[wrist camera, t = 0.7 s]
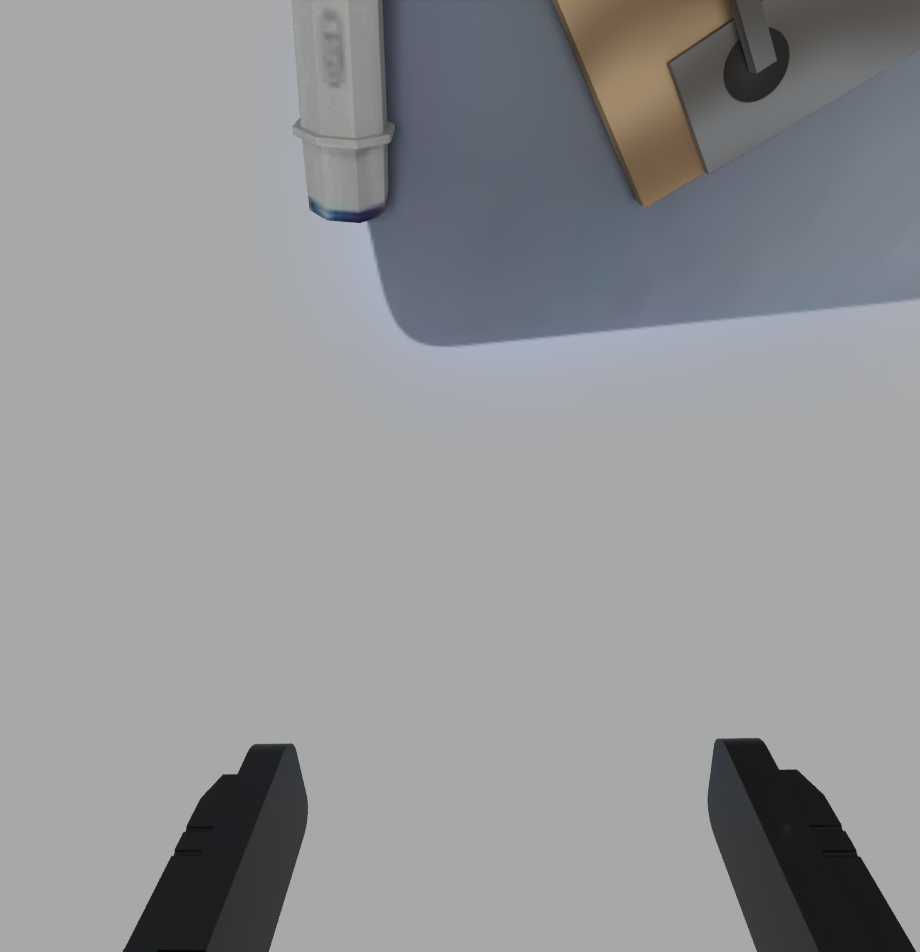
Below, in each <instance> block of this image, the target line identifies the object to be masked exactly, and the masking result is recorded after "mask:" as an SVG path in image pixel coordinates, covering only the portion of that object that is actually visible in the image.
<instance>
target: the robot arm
mask: <svg viewBox="0 0 920 952" xmlns="http://www.w3.org/2000/svg"><path fill="white" fill-rule="evenodd" d="M708 811H709V817H710V822H711V826H712V830H713V833H714V836H715V839H716V842H717V844H718V847H719V850H720V853H721V855H722V858H723V860H724V863H725V866H726V869H727V871H728V874H729V877H730V879H731V882H732V885H733V888H734V890H735V893H736V896H737V899H738V901H739V904H740V907H741V909H742V912H743V915H744V917H745V920H746V923H747V925H748V928H749V931H750V934H751V936H752V939H753V942H754V945H755V947H756V950H757V952H916V951H915V949H914V948H913V946H912V944H911V942H910V940H909V939H908V937H907V936H906V934H905V932H904V930H903V929H902V927H901V925H900V923H899V922H898V920H897V919H896V917H895V915H894V913H893V912H892V910H891V908H890V907H889V905H888V903H887V901H886V900H885V898H884V896H883V895H882V893H881V891H880V890H879V888H878V886H877V885H876V883H875V881H874V879H873V878H872V876H871V875H870V872H869V871H868V869H867V867H866V866H865V864H864V862H863V861H862V859H861V857H858V855H857V852H856V849H855V847H854V846H853V844H852V842H851V840H850V838H849V837H848V835H847V833H846V832H845V831H843V830H842V825H841V823H840V822H839V820H838V818H837V817H836V815H835V813H834V811H833V810H832V808H831V806H830V804H829V803H828V801H827V799H826V798H825V796H824V795H823V794H822V793H821V792H820V791H819V790H818V789H817V788H816V787H815V786H814V785H813V784H812V783H811V782H809V781H808V780H807V779H806V778H805V777H804V776H803V775H802V774H801V773H800V772H799V771H798V770H779V769H778V767H777V765H776V763H775V761H774V759H773V758H772V756H771V754H770V752H769V750H768V748H767V747H766V745H765V743H764V742H763V741H762V740H761V739H759V738H738V739H737V738H736V739H717V740H716V741H715V744H714V750H713V758H712V767H711V774H710V781H709V789H708ZM307 815H308V802H307V795H306V791H305V787H304V782H303V778H302V774H301V770H300V765H299V761H298V756H297V752H296V749H295V746H294V745H293V744H255V745H253V746H252V747H251V748H250V749H249V751H248V753H247V755H246V757H245V759H244V761H243V763H242V766H241V768H240V770H239V772H238V774H229V775H222V776H221V778H219V779H218V781H217V782H216V783H215V784H214V785H213V786H212V787H211V788H210V789H209V790H208V791H207V792H206V793H205V795H203V797H202V798H201V799H200V801H199V803H198V805H197V807H196V809H195V811H194V813H193V814H192V816H191V819H190V820H189V822H188V824H187V826H186V827H187V828H186V832H184V833H183V834H182V837H181V838H180V840H179V842H178V844H177V846H176V848H175V853H174V856H171V858H170V860H169V862H168V864H167V866H166V868H165V870H164V872H163V874H162V876H161V878H160V880H159V882H158V884H157V886H156V888H155V890H154V892H153V894H152V896H151V898H150V900H149V902H148V904H147V906H146V908H145V910H144V912H143V914H142V916H141V918H140V919H139V921H138V924H137V925H136V927H135V929H134V931H133V933H132V935H131V937H130V939H129V941H128V943H127V945H126V947H125V949H124V950H123V952H269V949H270V945H271V942H272V939H273V936H274V932H275V929H276V926H277V923H278V919H279V916H280V912H281V909H282V906H283V903H284V900H285V896H286V893H287V890H288V886H289V883H290V880H291V877H292V873H293V870H294V867H295V863H296V860H297V857H298V854H299V850H300V847H301V844H302V840H303V837H304V833H305V829H306V824H307Z"/></svg>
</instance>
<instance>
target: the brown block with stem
mask: <svg viewBox="0 0 920 952" xmlns="http://www.w3.org/2000/svg"><path fill="white" fill-rule="evenodd" d="M729 2H730V6H731V9H732V13H733V16H734V20H735V23H736V27H737V30H738V34H739V37H740V41H741V44H742V47H743V51H744V54H745V58H746V61H747V65H748V68H749V72H750V73H758V72H760V71H761V70H763V69H765V68H766V67H768V66H769V65H771V64H772V63H774V62H776V61H777V58H776V55H775V51H774V47H773V43H772V40H771V36H770V32H769V28H768V24H767V21H766V17H765V13H764V9H763V5H762V2H761V0H729Z"/></svg>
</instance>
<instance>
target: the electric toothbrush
mask: <svg viewBox="0 0 920 952" xmlns="http://www.w3.org/2000/svg"><path fill="white" fill-rule="evenodd" d="M292 8H293V23H294V37H295V50H296V64H297V79H298V93H299V105H300V106H299V107H300V118H299V120H298V121H297V122H296V123H295V125H294V126H293V134H294V135H295V136H297V137H299V138H302V142H303V150H304V161H305V170H306V179H307V188H308V198H309V208H310V210H311V211H312V212H314V213H316V214H318V215H319V216H321V217H323V218H324V219H326V220H330V221H342V222H355V223H361V222H365V221H368V220H372V219H376V218H380V217H383V216H385V214H386V211H387V208H388V205H389V202H388V143H390V142H391V140H392V137H393V135H394V132H395V124H394V123H392V122H389V121H387V104H386V79H385V54H384V28H383V3H382V0H292Z"/></svg>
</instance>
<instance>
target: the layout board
mask: <svg viewBox="0 0 920 952" xmlns="http://www.w3.org/2000/svg"><path fill="white" fill-rule="evenodd" d="M551 1H552V3H553V5H554V8H555V10H556V12H557V15H558V17H559V19H560V22H561V24H562V26H563V29H564V31H565V34H566V36H567V38H568V41H569V43H570V45H571V48H572V50H573V52H574V55H575V57H576V60H577V62H578V64H579V67H580V69H581V71H582V74H583V76H584V78H585V81H586V83H587V85H588V88H589V90H590V93H591V95H592V97H593V100H594V102H595V104H596V107H597V109H598V111H599V114H600V116H601V118H602V121H603V123H604V126H605V128H606V130H607V133H608V135H609V137H610V140H611V142H612V144H613V147H614V149H615V152H616V154H617V156H618V159H619V161H620V163H621V166H622V168H623V170H624V173H625V175H626V177H627V180H628V182H629V185H630V187H631V189H632V192H633V194H634V196H635V199H636V200H637V201H638V202H639V203H640V204H641V205H642V206H643V207H644V208H646V207H648V206H649V205H651V204H653V203H654V202H656V201H658V200H660V199H661V198H663V197H665V196H666V195H668V194H670V193H671V192H673V191H675V190H676V189H678V188H680V187H681V186H683V185H685V184H686V183H688V182H690V181H691V180H693V179H695V178H696V177H698V176H700V175H701V174H703V173H705V172H706V173H707V174H711V173H713V172H714V171H716V170H718V169H719V168H721V167H723V166H724V165H726V164H728V163H729V162H731V161H733V160H734V159H736V158H738V157H739V156H741V155H743V154H744V153H746V152H748V151H749V150H751V149H753V148H754V147H756V146H758V145H760V144H761V143H763V142H765V141H766V140H768V139H770V138H771V137H773V136H775V135H776V134H778V133H780V132H781V131H783V130H785V129H786V128H788V127H790V126H791V125H793V124H795V123H796V122H798V121H800V120H802V119H803V118H805V117H807V116H808V115H810V114H812V113H813V112H815V111H817V110H818V109H820V108H822V107H823V106H825V105H827V104H828V103H830V102H832V101H833V100H835V99H837V98H838V97H840V96H842V95H843V94H845V93H847V92H849V91H850V90H852V89H854V88H855V87H857V86H859V85H860V84H862V83H864V82H865V81H867V80H869V79H870V78H872V77H874V76H875V75H877V74H879V73H880V72H882V71H884V70H885V69H887V68H889V67H890V66H892V65H894V64H896V63H897V62H899V61H901V60H902V59H904V58H906V57H907V56H909V55H911V54H912V53H914V52H916V51H917V50H919V49H920V0H761V2H762V5H763V9H764V13H765V17H766V21H767V24H768V28H769V32H770V36H771V40H772V43H773V47H774V51H775V55H776V58H777V61H776V62H774V63H772V64H771V65H769V66H768V67H766V68H765V69H763V70H761V71H760V72H758V73H750V72H749V68H748V65H747V61H746V58H745V54H744V51H743V47H742V44H741V41H740V37H739V34H738V30H737V27H736V23H735V20H734V16H733V13H732V9H731V6H730V2H729V0H551Z"/></svg>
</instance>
